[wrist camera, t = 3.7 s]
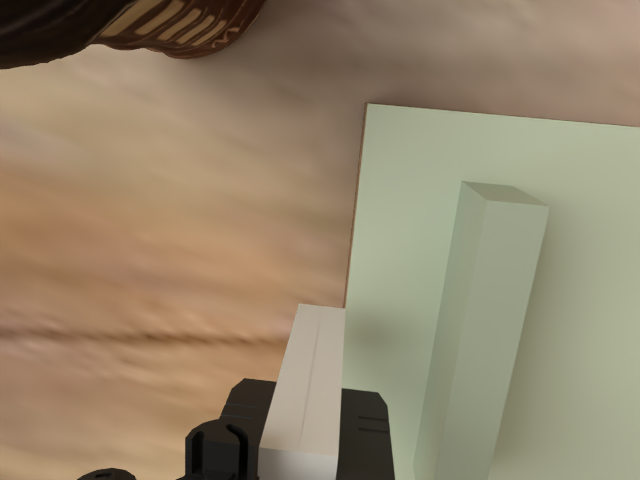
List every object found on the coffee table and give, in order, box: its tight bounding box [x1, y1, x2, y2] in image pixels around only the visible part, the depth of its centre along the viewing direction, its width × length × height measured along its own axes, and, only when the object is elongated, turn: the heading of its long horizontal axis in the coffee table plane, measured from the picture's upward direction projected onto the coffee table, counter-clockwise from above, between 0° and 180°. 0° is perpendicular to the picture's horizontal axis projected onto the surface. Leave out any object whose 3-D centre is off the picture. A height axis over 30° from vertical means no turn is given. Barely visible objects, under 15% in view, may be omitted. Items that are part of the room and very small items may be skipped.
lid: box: [342, 103, 640, 480], centre depth 15 cm, size 14×15×4 cm
